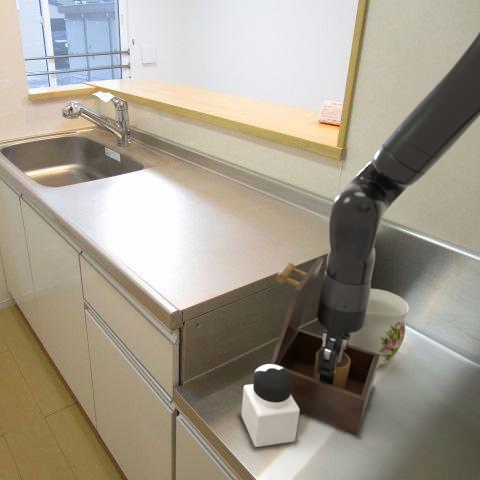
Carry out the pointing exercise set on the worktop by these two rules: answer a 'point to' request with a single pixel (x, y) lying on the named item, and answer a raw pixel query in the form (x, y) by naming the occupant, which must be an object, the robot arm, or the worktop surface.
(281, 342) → the lid
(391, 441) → the worktop surface
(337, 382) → the tan cylinder
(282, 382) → the medicine bottle
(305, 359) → the chest
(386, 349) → the pitcher
